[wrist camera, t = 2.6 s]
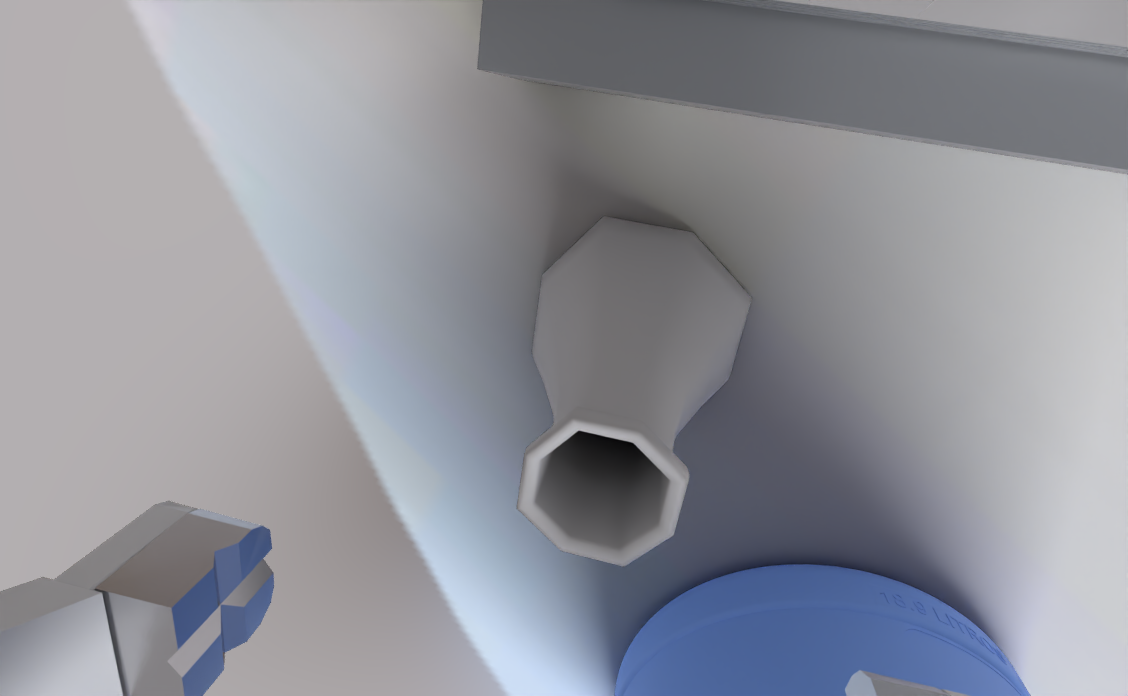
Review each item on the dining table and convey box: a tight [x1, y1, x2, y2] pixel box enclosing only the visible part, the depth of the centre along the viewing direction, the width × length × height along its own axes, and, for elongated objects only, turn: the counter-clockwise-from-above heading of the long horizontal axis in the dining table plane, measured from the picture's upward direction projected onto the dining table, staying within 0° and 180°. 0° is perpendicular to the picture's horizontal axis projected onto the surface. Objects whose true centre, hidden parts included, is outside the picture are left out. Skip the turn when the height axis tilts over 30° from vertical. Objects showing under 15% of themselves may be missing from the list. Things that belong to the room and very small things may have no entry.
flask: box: [517, 216, 752, 567], centre depth 16 cm, size 7×7×10 cm
